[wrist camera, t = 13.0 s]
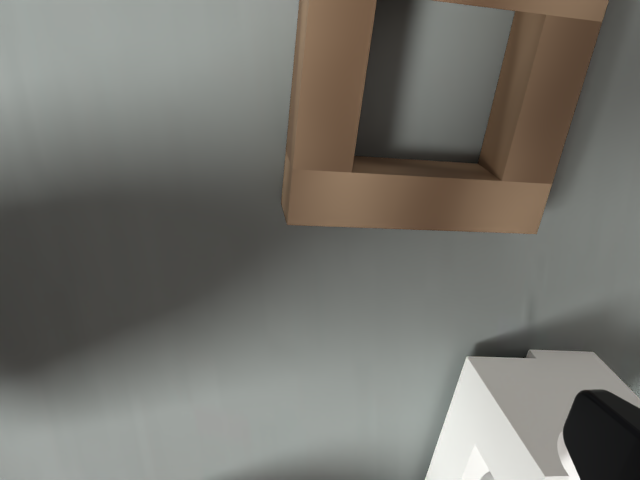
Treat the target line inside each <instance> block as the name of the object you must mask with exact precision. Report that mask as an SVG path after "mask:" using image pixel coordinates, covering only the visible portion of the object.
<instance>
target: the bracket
mask: <svg viewBox="0 0 640 480" xmlns="http://www.w3.org/2000/svg"><path fill="white" fill-rule="evenodd" d="M592 389H603V390H607V391H609V392H611V393H613V394H615V395H617V396H618V397H620V398H622V399H624V400H626V401H628V402H629V403H631V404H633V405H635V406H637V407H638V408H640V398H639V397H638V396H637V395H636V394H635V393H634V392H633V391H632V390H631V389H630V388H629V387H628V386H627V385H626V384H625V383H624V382H623V381H622V380H621V379H620V378H619V377H618V376H617V375H616V374H615V373H614V372H613V371H612V370H611V369H610V368H609V367H608V366H607V365H606V364H605V363H604V362H603V361H602V360H601V359H600V358H599V357H598V356H597V355H596V354H595V353H594V352H584V351H556V350H529V351H528V353H527V356H526V358H506V357H474V356H467V357H466V360H465V363H464V366H463V368H462V371H461V374H460V377H459V380H458V383H457V386H456V389H455V392H454V395H453V398H452V401H451V404H450V407H449V410H448V413H447V416H446V419H445V422H444V425H443V428H442V431H441V434H440V437H439V440H438V443H437V445H436V448H435V451H434V454H433V457H432V460H431V463H430V466H429V469H428V472H427V475H426V478H425V480H580V478H579V475H578V473H577V471H576V469H575V466H574V464H573V462H572V460H571V457H570V455H569V453H568V450H567V448H566V446H565V443H564V439H563V427H564V424H565V421H566V419H567V416H568V414H569V411H570V409H571V406H572V404H573V401H574V399H575V397H576V395H577V394H578V393H579V392H580V391H582V390H592Z"/></svg>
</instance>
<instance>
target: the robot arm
mask: <svg viewBox="0 0 640 480" xmlns="http://www.w3.org/2000/svg"><path fill="white" fill-rule="evenodd" d="M563 439H564V443H565V446H566V448H567V450H568V453H569V455H570V457H571V460H572V462H573V464H574V466H575V469H576V471H577V473H578V475H579V478H580V480H640V408H638V407H637V406H635V405H633V404H631V403H629V402H628V401H626V400H624V399H622V398H620V397H618V396H617V395H615V394H613V393H611V392H609V391H607V390H603V389H592V390H582V391H580V392H579V393H578V394H577V395H576V397H575V399H574V401H573V404H572V406H571V409H570V411H569V414H568V416H567V419H566V421H565V424H564V427H563Z"/></svg>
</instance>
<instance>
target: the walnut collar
mask: <svg viewBox="0 0 640 480" xmlns="http://www.w3.org/2000/svg"><path fill="white" fill-rule="evenodd" d="M433 1H441V2H449V3H457V4H465V5H473V6H480V7H488V8H496V9H504V10H512V11H515V14H514V18H513V22H512V26H511V31H510V35H509V39H508V43H507V47H506V51H505V55H504V59H503V63H502V67H501V71H500V75H499V79H498V84H497V88H496V92H495V96H494V100H493V104H492V108H491V112H490V116H489V120H488V124H487V128H486V133H485V137H484V141H483V145H482V149H481V153H480V157H479V161H478V164H476V163H460V162H444V161H428V160H413V159H397V158H381V157H365V156H354V154H355V147H356V140H357V133H358V126H359V119H360V112H361V106H362V99H363V92H364V85H365V78H366V71H367V64H368V57H369V51H370V44H371V37H372V30H373V23H374V16H375V9H376V2H377V0H299V11H298V22H297V33H296V44H295V55H294V66H293V77H292V88H291V99H290V110H289V121H288V132H287V143H286V154H285V165H284V176H283V187H282V198H281V205H282V208H283V212H284V215H285V219H286V223H287V225H302V226H329V227H357V228H385V229H412V230H440V231H468V232H495V233H523V234H537V231H538V228H539V225H540V222H541V218H542V215H543V212H544V209H545V205H546V202H547V199H548V196H549V193H550V189H551V186H552V183H553V180H554V176H555V173H556V170H557V167H558V163H559V160H560V157H561V154H562V151H563V147H564V144H565V141H566V138H567V134H568V131H569V128H570V125H571V121H572V118H573V115H574V112H575V109H576V105H577V102H578V99H579V96H580V92H581V89H582V86H583V83H584V79H585V76H586V73H587V70H588V67H589V63H590V60H591V57H592V54H593V50H594V47H595V44H596V41H597V37H598V34H599V31H600V28H601V25H602V21H603V18H604V15H605V12H606V8H607V5H608V2H609V0H433Z"/></svg>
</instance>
